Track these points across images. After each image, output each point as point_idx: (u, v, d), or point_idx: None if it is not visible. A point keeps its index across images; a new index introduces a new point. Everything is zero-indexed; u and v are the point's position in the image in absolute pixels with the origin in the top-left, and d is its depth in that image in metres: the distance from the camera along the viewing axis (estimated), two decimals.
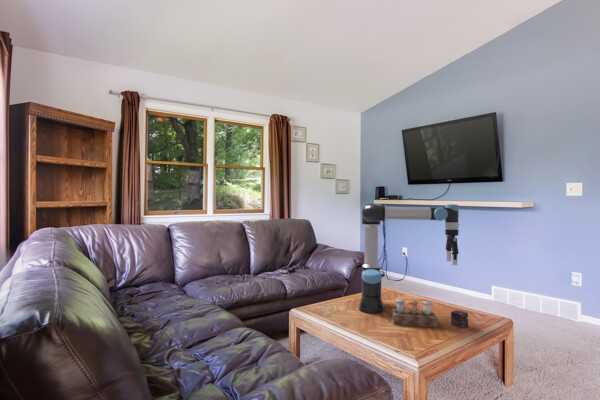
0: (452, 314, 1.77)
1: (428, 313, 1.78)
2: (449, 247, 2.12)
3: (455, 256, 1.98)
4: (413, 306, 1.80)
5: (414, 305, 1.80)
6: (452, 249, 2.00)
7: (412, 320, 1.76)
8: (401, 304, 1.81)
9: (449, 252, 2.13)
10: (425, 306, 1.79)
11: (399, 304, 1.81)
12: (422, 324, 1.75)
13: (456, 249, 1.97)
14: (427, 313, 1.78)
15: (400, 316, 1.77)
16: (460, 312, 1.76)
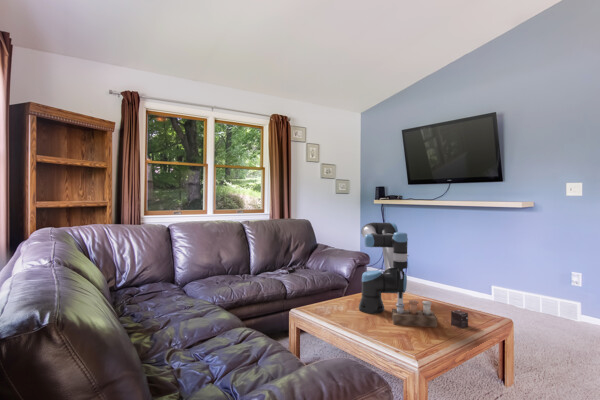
0: (452, 314, 1.77)
1: (428, 313, 1.78)
2: None
3: (400, 294, 1.81)
4: (413, 306, 1.80)
5: (414, 305, 1.80)
6: (398, 286, 1.81)
7: (412, 320, 1.76)
8: (401, 308, 1.81)
9: None
10: (425, 306, 1.79)
11: (399, 308, 1.81)
12: (422, 324, 1.75)
13: (401, 288, 1.79)
14: (427, 313, 1.78)
15: (400, 316, 1.77)
16: (460, 312, 1.76)
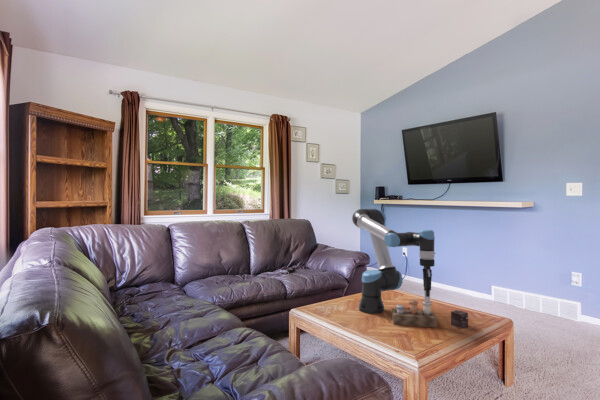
0: (452, 314, 1.77)
1: (428, 313, 1.78)
2: None
3: (427, 292, 1.78)
4: (413, 306, 1.80)
5: (414, 305, 1.80)
6: (425, 284, 1.79)
7: (412, 320, 1.76)
8: (401, 310, 1.81)
9: None
10: (425, 306, 1.79)
11: (399, 310, 1.81)
12: (422, 324, 1.75)
13: (429, 286, 1.76)
14: (427, 313, 1.78)
15: (400, 316, 1.77)
16: (460, 312, 1.76)
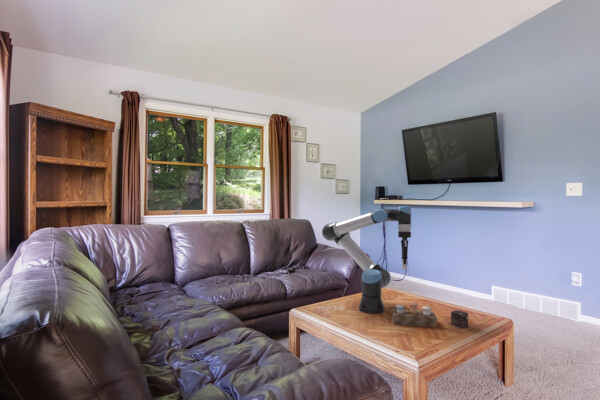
0: (452, 314, 1.77)
1: None
2: None
3: (404, 260, 2.03)
4: (413, 309, 1.80)
5: (414, 308, 1.80)
6: None
7: (412, 320, 1.76)
8: (401, 310, 1.81)
9: None
10: (425, 312, 1.79)
11: (399, 310, 1.81)
12: (422, 324, 1.75)
13: (405, 254, 2.01)
14: None
15: (400, 316, 1.77)
16: (460, 312, 1.76)
